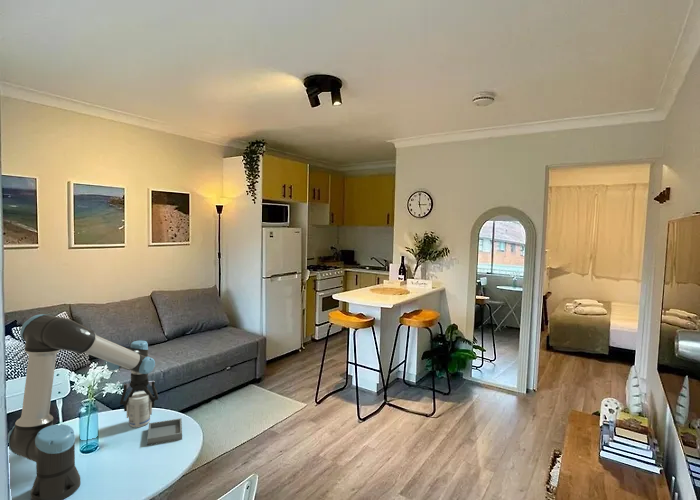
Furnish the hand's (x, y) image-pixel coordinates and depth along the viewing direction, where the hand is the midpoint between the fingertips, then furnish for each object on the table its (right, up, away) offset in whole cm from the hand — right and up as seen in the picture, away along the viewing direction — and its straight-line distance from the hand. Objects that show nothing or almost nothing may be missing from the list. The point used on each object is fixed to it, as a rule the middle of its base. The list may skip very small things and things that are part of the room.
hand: (139, 415), depth 199 cm
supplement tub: (0, -4, 0) cm, 4 cm away
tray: (+17, -6, -8) cm, 20 cm away
